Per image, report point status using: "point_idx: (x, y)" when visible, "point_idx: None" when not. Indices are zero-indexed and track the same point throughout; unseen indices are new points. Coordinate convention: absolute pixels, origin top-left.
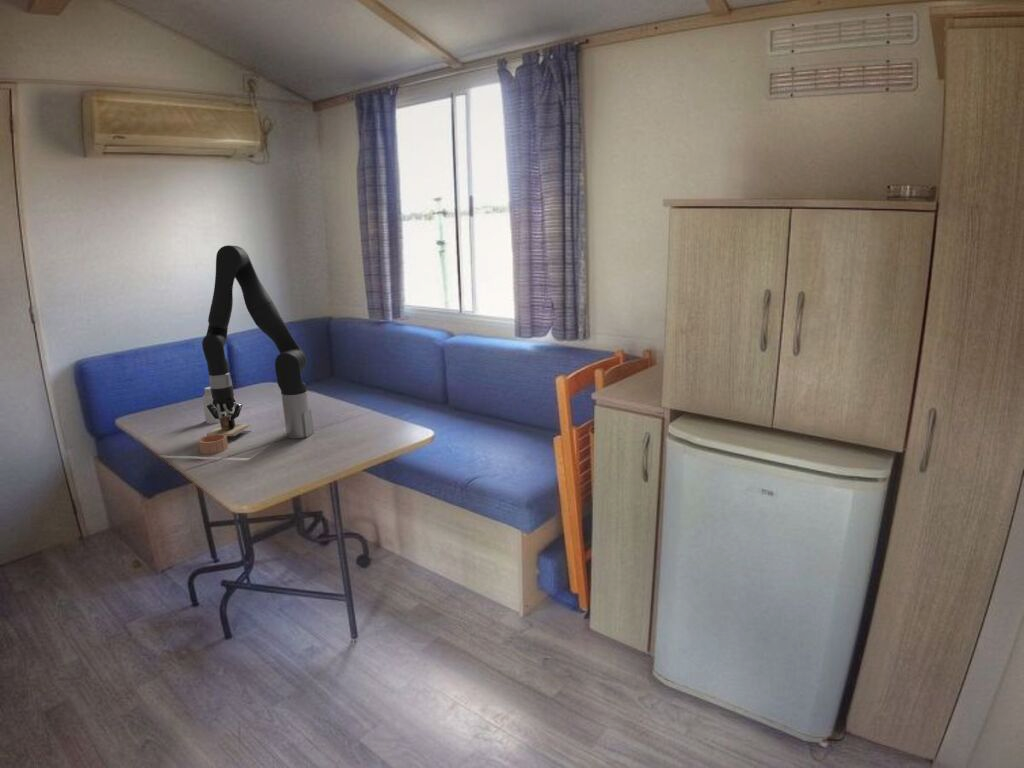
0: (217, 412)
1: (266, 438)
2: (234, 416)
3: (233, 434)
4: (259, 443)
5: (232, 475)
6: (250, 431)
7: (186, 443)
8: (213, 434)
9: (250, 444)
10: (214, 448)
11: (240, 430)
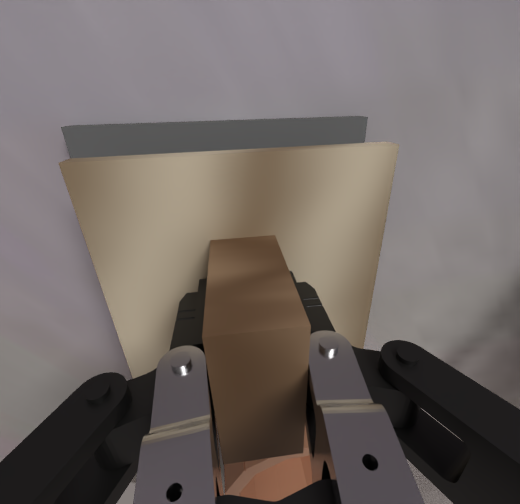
0: (67, 471)
1: (498, 222)
2: (410, 430)
3: None
4: (471, 298)
5: (445, 498)
6: (361, 139)
7: (18, 375)
8: (265, 462)
9: (425, 318)
10: None
11: (369, 299)
